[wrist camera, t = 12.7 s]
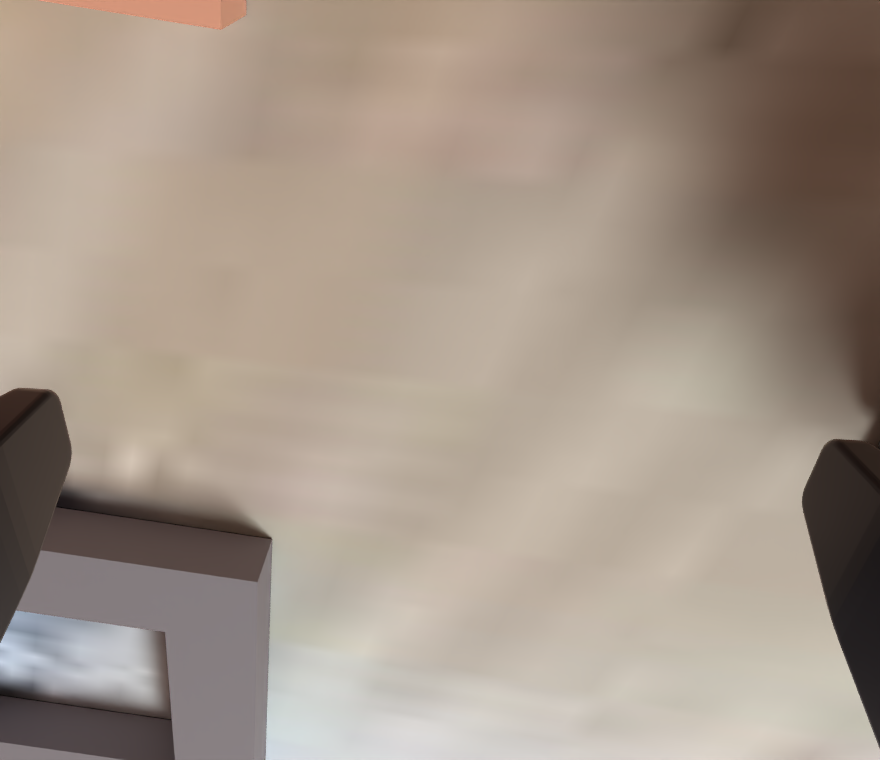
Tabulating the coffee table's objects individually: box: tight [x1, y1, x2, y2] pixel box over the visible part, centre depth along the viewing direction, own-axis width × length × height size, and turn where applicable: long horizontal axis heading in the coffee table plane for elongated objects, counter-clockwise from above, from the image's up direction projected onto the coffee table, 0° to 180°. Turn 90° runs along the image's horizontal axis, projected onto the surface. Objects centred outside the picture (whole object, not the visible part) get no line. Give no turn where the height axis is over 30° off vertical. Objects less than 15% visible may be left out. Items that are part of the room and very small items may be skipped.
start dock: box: [0, 507, 272, 760], centre depth 31 cm, size 15×15×2 cm
